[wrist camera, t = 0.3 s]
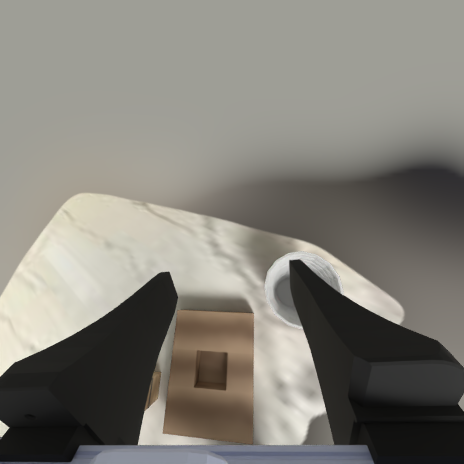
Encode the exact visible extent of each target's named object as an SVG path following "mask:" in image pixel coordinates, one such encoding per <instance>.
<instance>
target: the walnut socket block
mask: <svg viewBox="0 0 464 464" xmlns="http://www.w3.org/2000/svg"><path fill="white" fill-rule="evenodd" d="M253 359H254V313H243V312H222V311H202V310H178V311H177V319H176V328H175V336H174V344H173V352H172V361H171V369H170V377H169V385H168V394H167V402H166V410H165V418H164V427H163V434H172V435H180V436H188V437H196V438H204V439H213V440H221V441H229V442H237V443H245V444H253Z"/></svg>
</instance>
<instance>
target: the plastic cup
mask: <svg viewBox="0 0 464 464" xmlns="http://www.w3.org/2000/svg"><path fill="white" fill-rule="evenodd" d="M296 259H300V260H302V261H303V262H304V263H305V264H306V265H307V266H308V267H309V268H310V269H311V270H312V271H313V272H314V273H316V274H317V275H318V276H319V277H320V278H321V279H323V280H324V281H325V282H326V283H327V284H329V285H330V286H331V287H333V288H334V289H335V290H337V291H338V292H339V293H341V294H342V295H343V294H344V291H343V287H342V283H341V280H340V276H339V275H338V273H337V272H336V271H335V269H334V268H333V267H332V265H331V264H330V263H329V262H327V261H326V260H324V259H323V258H321V257H320V256H318V255H316V254H312V253H308V252H303V251H300V252H293V253H287V254H286V255H284V256H282V257H281V258H279V259H277V260H276V261H275V262H274V264H273V265H272V266H271V268H270V269H269V270H268V272H267V276H266V280H265V285H264V287H265V293H266V300H267V302H268V304H269V306H270V307H271V309H272V311H273V313H274V314H275V315H276V316H277V317H278V318H280V319H281V320H282V321H283V322H284V323H286V324H287V325H289V326H292V327H296V328H299V329H302V330H303V327H302V324H301V322H300V319H299V316H298V314H297V311H296V308H295V306H294V302H293V298H292V294H291V290H290V272H289V260H296Z"/></svg>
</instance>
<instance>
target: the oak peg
mask: <svg viewBox="0 0 464 464" xmlns="http://www.w3.org/2000/svg"><path fill="white" fill-rule="evenodd" d="M160 377H161V372H154V373H153V377H152V381H151V385H150V389H149V393H148V397H147V401H146V406H145V410H146V409H147V408H149V406H150V405H151V404H152V403H153V402H154V401H156V400H157V399H158V392H159V385H160ZM145 410H144V411H145Z"/></svg>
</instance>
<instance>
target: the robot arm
mask: <svg viewBox="0 0 464 464" xmlns="http://www.w3.org/2000/svg"><path fill="white" fill-rule="evenodd" d="M289 272H290V290H291V294H292V298H293V302H294V306H295V308H296V311H297V314H298V316H299V319H300V322H301V324H302V327H303V330H304V332H305V335H306V338H307V340H308V344H309V347H310V350H311V353H312V357H313V361H314V364H315V368H316V372H317V376H318V380H319V383H320V387H321V391H322V395H323V399H324V403H325V407H326V411H327V415H328V419H329V424H330V428H331V432H332V436H333V441H334V445H138V440H139V435H140V430H141V425H142V420H143V415H144V410H145V406H146V401H147V397H148V393H149V389H150V385H151V381H152V377H153V373H154V369H155V366H156V362H157V359H158V355H159V352H160V350H161V347H162V344H163V342H164V339H165V336H166V334H167V331H168V329H169V326H170V324H171V321H172V318H173V315H174V313H175V309H176V305H177V300H178V296H177V293H176V290H175V287H174V284H173V281H172V278H171V275H170V272H161V273H159V274H157V275H156V276H155V277H153V278H152V279H151V280H150V281H149V282H147V283H146V284H145V285H144V286H143V287H141V288H140V289H139V290H138V291H137V292H135V293H134V294H133V295H132V296H131V297H129V298H128V299H127V300H125V301H124V302H123V303H121V304H120V305H119V306H118V307H116V308H115V309H114V310H112V311H111V312H109V313H108V314H106V315H105V316H103V317H102V318H100V319H99V320H97V321H96V322H94V323H92V324H91V325H89V326H87V327H86V328H84V329H82V330H81V331H79V332H77V333H75V334H74V335H72V336H70V337H68V338H66V339H64V340H62V341H60V342H58V343H56V344H55V345H53V346H51V347H48V348H46V349H44V350H42V351H40V352H38V353H36V354H33V355H31V356H29V357H27V358H24V359H22V360H20V361H18V362H15V363H14V364H13V365H12V366H11V367H10V368H9V369H8V370H7V371H6V372H5V373H4V374H3V375H2V376H1V377H0V420H1V421H2V422H3V423H4V424H6V425H7V426H8V427H10V428H9V429H8V430H7V432H6V433H5V434H4V435H3V437H0V464H464V411H463V410H462V409H461V408H460V406H459V405H458V402H459V401H460V399H461V397H462V395H463V393H464V367H463V366H462V365H461V364H460V363H459V362H458V361H457V360H456V359H455V358H454V357H453V356H452V354H451V353H450V352H449V351H448V350H447V349H446V348H445V347H444V346H443V345H442V344H440V343H439V342H438V341H437V340H434V339H431V338H429V337H427V336H424V335H421V334H419V333H416V332H414V331H411V330H409V329H406V328H404V327H402V326H400V325H398V324H395V323H393V322H391V321H389V320H387V319H385V318H383V317H381V316H379V315H377V314H375V313H373V312H371V311H369V310H367V309H365V308H364V307H362V306H360V305H358V304H357V303H355V302H353V301H352V300H350V299H349V298H347V297H345V296H344V295H342V294H341V293H339V292H338V291H337V290H335V289H334V288H333V287H331V286H330V285H329V284H327V283H326V282H325V281H324V280H323V279H321V278H320V277H319V276H318V275H317V274H316V273H314V272H313V271H312V270H311V269H310V268H309V267H308V266H307V265H306V264H305V263H304V262H303V261H302V260H300V259H296V260H289Z"/></svg>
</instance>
